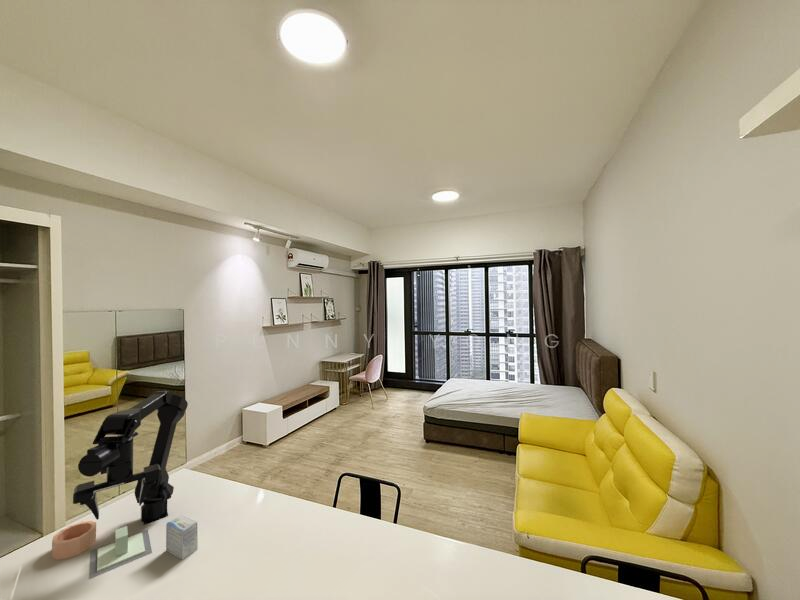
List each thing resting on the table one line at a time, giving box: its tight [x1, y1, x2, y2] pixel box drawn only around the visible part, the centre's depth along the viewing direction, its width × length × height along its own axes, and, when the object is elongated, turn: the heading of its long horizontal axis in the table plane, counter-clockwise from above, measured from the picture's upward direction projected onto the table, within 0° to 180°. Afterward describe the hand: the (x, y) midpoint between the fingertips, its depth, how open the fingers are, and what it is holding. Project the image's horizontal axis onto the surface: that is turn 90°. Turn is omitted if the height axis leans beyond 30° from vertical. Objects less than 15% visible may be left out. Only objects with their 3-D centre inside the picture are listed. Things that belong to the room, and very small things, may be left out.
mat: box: [88, 528, 153, 580], centre depth 92 cm, size 13×13×1 cm
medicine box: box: [165, 514, 199, 560], centre depth 93 cm, size 8×4×9 cm, turn 65°
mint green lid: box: [97, 525, 145, 572], centre depth 92 cm, size 10×10×6 cm
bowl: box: [51, 520, 97, 561], centre depth 94 cm, size 9×9×5 cm
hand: (119, 511), depth 92 cm, fingers open, 9 cm apart
